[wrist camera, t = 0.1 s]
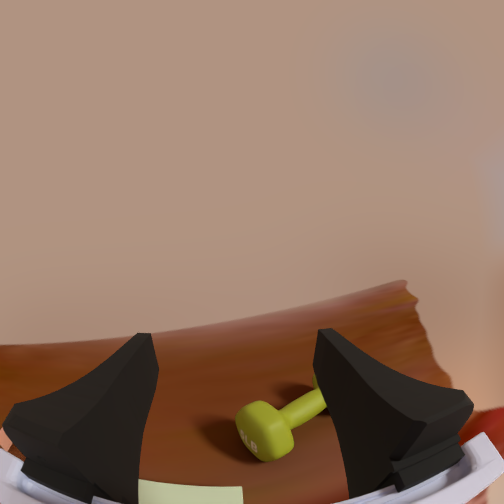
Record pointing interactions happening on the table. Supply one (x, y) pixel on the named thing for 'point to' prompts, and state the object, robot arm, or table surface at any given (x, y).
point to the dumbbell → (276, 424)
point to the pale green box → (172, 490)
